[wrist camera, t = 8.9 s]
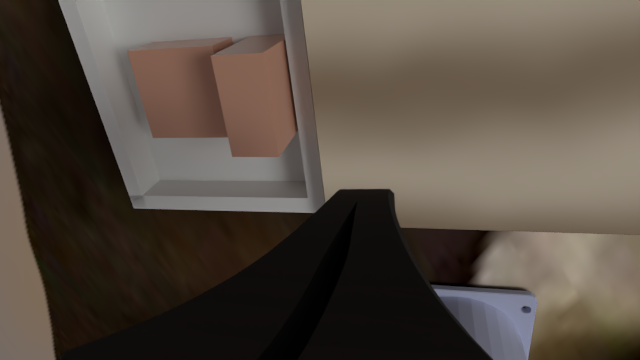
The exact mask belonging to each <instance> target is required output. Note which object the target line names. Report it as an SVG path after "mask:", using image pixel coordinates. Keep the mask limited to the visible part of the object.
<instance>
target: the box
mask: <svg viewBox="0 0 640 360" xmlns="http://www.w3.org/2000/svg"><path fill="white" fill-rule="evenodd" d="M58 1H59V4H60V7H61V9H62V12H63V15H64V18H65V20H66V23H67V26H68V29H69V31H70V34H71V37H72V40H73V42H74V45H75V48H76V51H77V53H78V56H79V59H80V62H81V64H82V67H83V70H84V73H85V75H86V78H87V81H88V84H89V86H90V89H91V92H92V95H93V97H94V100H95V103H96V106H97V108H98V111H99V114H100V117H101V119H102V122H103V125H104V128H105V130H106V133H107V136H108V139H109V141H110V144H111V147H112V150H113V152H114V155H115V158H116V161H117V163H118V166H119V169H120V172H121V174H122V177H123V180H124V183H125V185H126V188H127V191H128V194H129V196H130V199H131V202H132V205H133V207H134V208H140V209H181V210H221V211H261V212H302V213H315V212H316V211H317V210H318V209H319V208H320V207H321V206H322V205H323V204H324V203H325V195H324V187H323V179H322V171H321V162H320V154H319V146H318V137H317V129H316V121H315V113H314V104H313V96H312V88H311V80H310V71H309V63H308V55H307V46H306V38H305V30H304V22H303V13H302V5H301V0H58ZM274 34H285V41H286V48H287V55H288V62H289V69H290V76H291V83H292V90H293V97H294V104H295V111H296V118H297V125H298V131H297V133H296V134H295V136H294V137H293V138H292V140H291V141H290V143H289V144H288V145H287V147H286V148H285V150H284V151H283V153H282V154H281V155H280V157H232V154H231V149H230V144H229V140H228V137H225V138H153V136H152V133H151V130H150V126H149V123H148V120H147V116H146V113H145V110H144V106H143V103H142V100H141V96H140V93H139V90H138V86H137V83H136V80H135V76H134V73H133V69H132V66H131V63H130V59H129V56H128V53H127V51H128V50H131V49H134V48H137V47H140V46H143V45H146V44H149V43H152V42H162V41H177V40H191V39H206V38H221V37H232V40H233V45H234V44H236V43H238V42H240V41H242V40H244V39H246V38H248V37H250V36H260V35H274Z"/></svg>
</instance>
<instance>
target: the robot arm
mask: <svg viewBox="0 0 640 360" xmlns="http://www.w3.org/2000/svg"><path fill="white" fill-rule="evenodd" d="M523 306H528V307H527V308H522V307H523ZM536 307H537V299H536V296H535V294H534V293H532V292H530V291H520V290H505V289H489V288H473V287H457V286H441V285H431V284H430V283H429V281H428V280H427V278H426V277H425V275H424V274H423V272H422V270H421V269H420V267H419V265H418V263H417V262H416V260H415V258H414V256H413V254H412V252H411V250H410V248H409V246H408V244H407V242H406V240H405V237H404V235H403V232H402V230H401V227H400V225H399V222H398V219H397V216H396V212H395V197H394V193H393V192H392V191H391V190H390V189H339V190H338V191H337V192H336V193H335V194H334V195H333V196H332V197H331V198H330V199H329V200H328V201H327V202H326V203H324V204H323V205H322V206H321V207H320V208H319V209H318V210H317V211H316V212H315V213H314V214H313V215H312V216H311V217H310V218H309V219H308V220H306V221H305V222H304V223H303V224H302V225H301V226H300V227H299V228H298V229H296V230H295V231H294V232H293V233H292V234H290V235H289V236H288V237H287V238H285V239H284V240H283V241H282V242H281V243H279V244H278V245H277V246H276V247H274V248H273V249H272V250H271V251H269V252H268V253H267V254H265V255H264V256H263V257H261V258H260V259H258V260H257V261H256V262H254V263H253V264H251V265H250V266H248V267H247V268H245V269H244V270H242V271H241V272H239V273H238V274H236V275H234V276H233V277H231V278H229V279H228V280H226V281H224V282H222V283H221V284H219V285H217V286H215V287H213V288H212V289H210V290H208V291H206V292H204V293H203V294H201V295H199V296H197V297H195V298H194V299H192V300H190V301H188V302H186V303H184V304H182V305H179V306H177V307H175V308H173V309H171V310H169V311H167V312H165V313H162V314H160V315H158V316H156V317H153V318H151V319H149V320H147V321H144V322H142V323H140V324H137V325H135V326H132V327H130V328H127V329H125V330H122V331H119V332H117V333H114V334H111V335H109V336H106V337H103V338H101V339H98V340H95V341H92V342H90V343H87V344H84V345H82V346H79V347H76V348H73V349H70V350H67V351H66V352H65V354H64V355H63V356H62V357H61V358H60V359H59V360H528V355H529V349H530V343H531V337H532V331H533V325H534V319H535V313H536Z"/></svg>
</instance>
